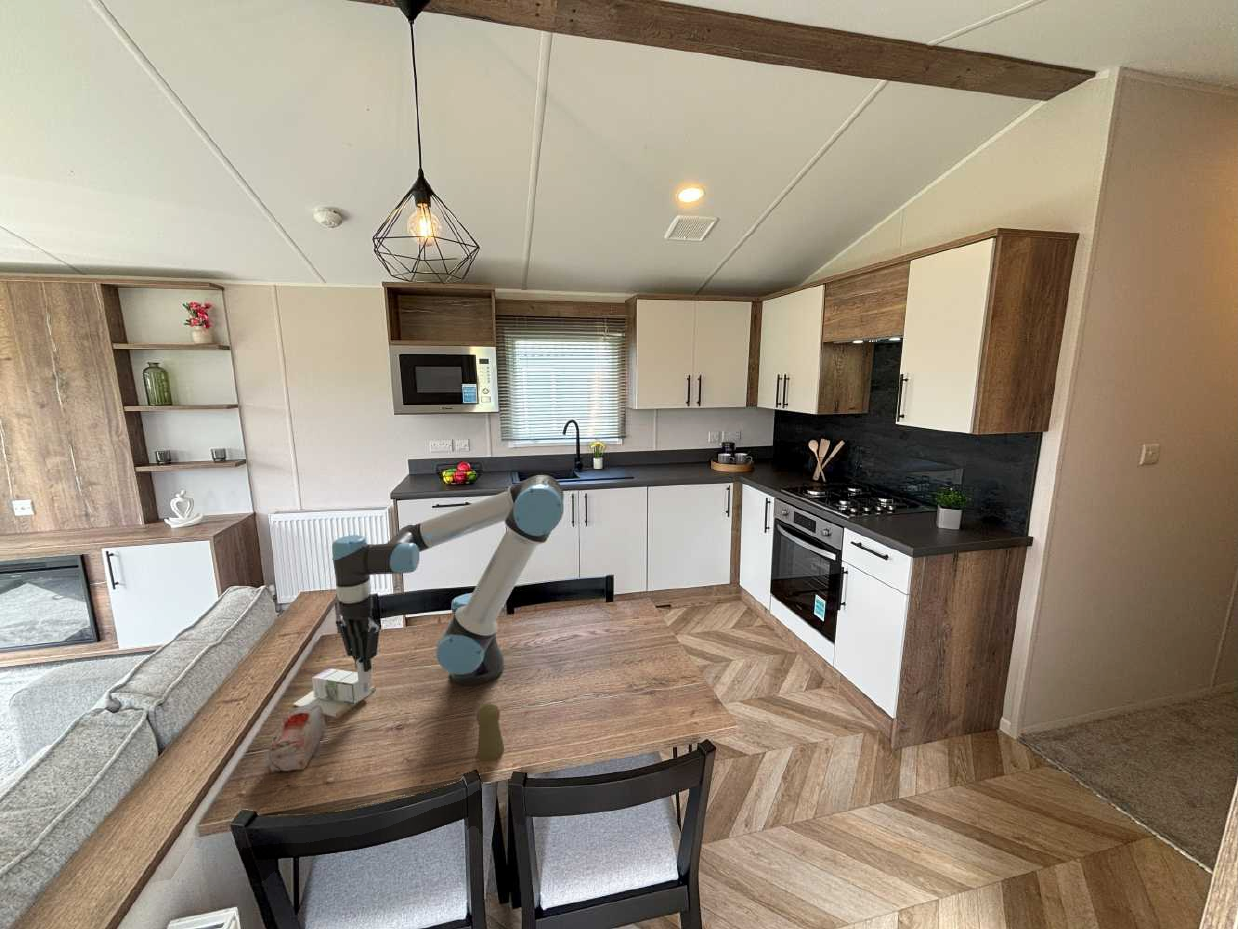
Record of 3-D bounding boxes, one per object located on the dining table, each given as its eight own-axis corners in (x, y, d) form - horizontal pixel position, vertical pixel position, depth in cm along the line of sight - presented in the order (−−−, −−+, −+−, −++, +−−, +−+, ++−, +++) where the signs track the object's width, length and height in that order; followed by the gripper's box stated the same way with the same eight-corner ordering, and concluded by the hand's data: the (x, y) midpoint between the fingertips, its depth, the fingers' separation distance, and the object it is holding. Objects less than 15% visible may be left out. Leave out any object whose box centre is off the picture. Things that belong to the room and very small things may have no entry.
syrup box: (370, 673, 133) (330, 667, 138) (351, 683, 127) (310, 677, 132) (372, 693, 133) (331, 687, 138) (353, 705, 128) (312, 698, 133)
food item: (309, 773, 109) (302, 733, 107) (268, 780, 107) (261, 740, 105) (329, 730, 122) (324, 694, 120) (293, 736, 120) (287, 699, 118)
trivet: (375, 689, 137) (375, 686, 137) (338, 718, 126) (337, 714, 126) (332, 678, 142) (332, 675, 142) (293, 705, 131) (292, 701, 131)
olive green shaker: (480, 742, 117) (476, 700, 115) (505, 740, 117) (503, 699, 115) (474, 762, 111) (471, 718, 109) (502, 759, 112) (499, 716, 109)
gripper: (386, 594, 126) (395, 677, 130) (347, 587, 130) (357, 668, 134) (363, 607, 119) (373, 695, 123) (322, 599, 123) (333, 684, 127)
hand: (365, 681), depth 129 cm, fingers closed
